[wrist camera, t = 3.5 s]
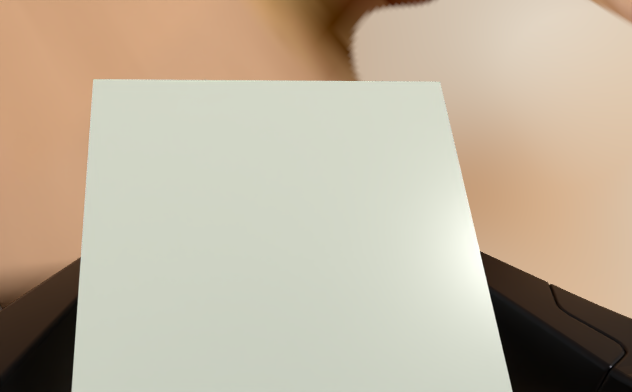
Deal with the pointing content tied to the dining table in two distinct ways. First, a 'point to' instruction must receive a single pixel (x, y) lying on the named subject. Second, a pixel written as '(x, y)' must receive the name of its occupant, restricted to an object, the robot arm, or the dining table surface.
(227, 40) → the dining table surface
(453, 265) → the block
